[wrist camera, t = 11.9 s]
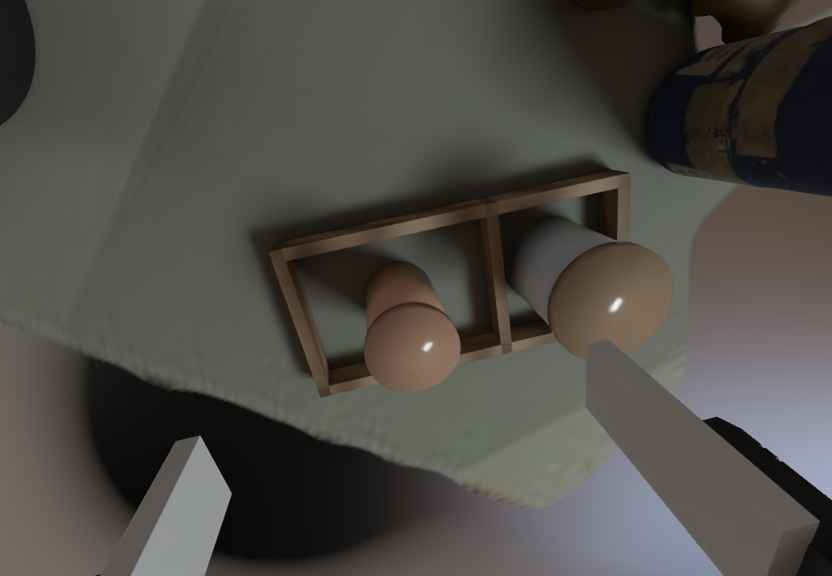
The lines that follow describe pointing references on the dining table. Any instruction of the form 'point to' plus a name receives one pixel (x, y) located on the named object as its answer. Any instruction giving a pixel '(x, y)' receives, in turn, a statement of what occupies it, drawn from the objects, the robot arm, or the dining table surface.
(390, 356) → the tan domed cylinder
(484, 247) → the caddy
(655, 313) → the white lidded jar
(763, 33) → the kendama
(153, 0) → the dining table surface
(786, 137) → the canister
